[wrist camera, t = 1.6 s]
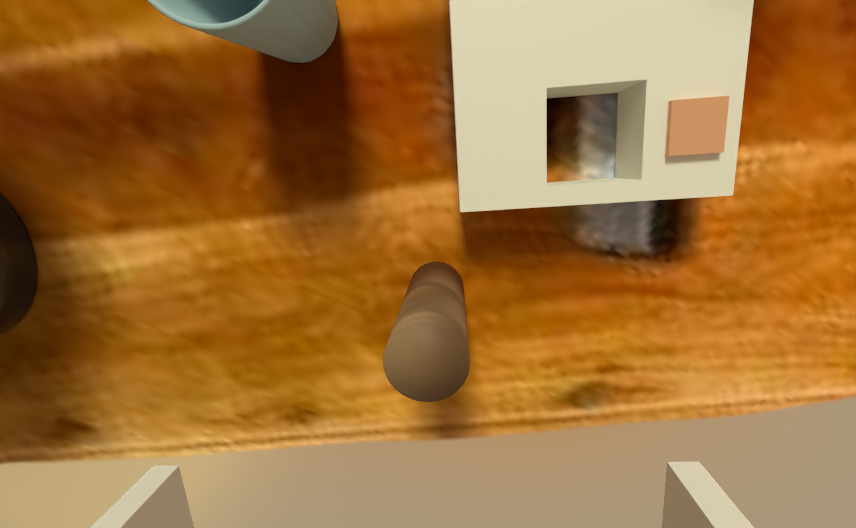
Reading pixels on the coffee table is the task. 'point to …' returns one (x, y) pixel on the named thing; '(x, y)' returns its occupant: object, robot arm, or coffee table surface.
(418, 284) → the dowel
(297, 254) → the coffee table surface
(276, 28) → the cup
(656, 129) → the socket board
